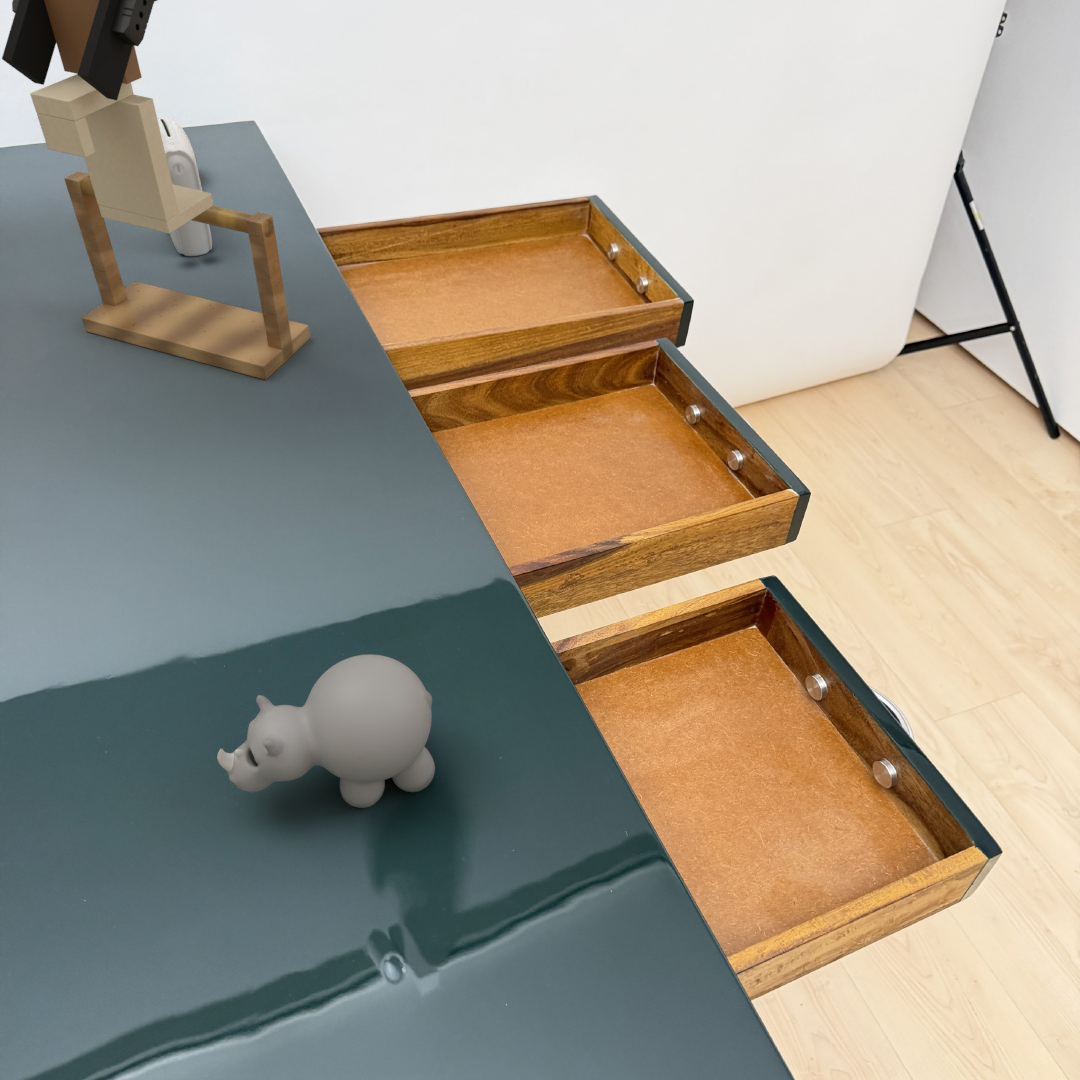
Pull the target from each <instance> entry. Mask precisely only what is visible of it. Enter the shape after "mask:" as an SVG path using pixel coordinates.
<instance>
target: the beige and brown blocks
mask: <svg viewBox="0 0 1080 1080" xmlns="http://www.w3.org/2000/svg"><path fill="white" fill-rule="evenodd" d="M44 2H45V5H46V9H47V12H48V16H49V19H50V22H51V26H52V29H53V33H54V36H55V40H56V46H57V50H58V55H59V57H60V61H61V63H62V67H63V70H64V72H66V73H71V74H74V75H72V76H69V77H66V78H64V79H62V80H59V81H57V82H54V83H52V84H49V85H47V86H44V87H42V88H40V89H37V90H35V91H32V92H30V93H29V94H30V97H31V101H32V103H33V107H34V110H35V113H36V116H37V120H38V122H39V125H40V129H41V132H42V135H43V138H44V141H45V144H46V146H47V149H48V150H50V151H55V152H59V153H62V154H68V155H72V156H75V157H81V158H83V159H84V162H85V165H86V169H87V173H88V174H89V176H90V179H91V183H92V186H93V190H94V193H95V196H96V200H97V203H98V204H99V205H98V206H99V209H100V213H101V216H102V217H103V218H104V219H107V220H112V221H114V222H115V221H116V222H120V223H124V224H128V225H132V226H135V227H139V228H144V229H149V230H152V231H157V232H160V233H164V234H168V235H170V233H171V232H173V231H175V230H176V229H178V228H179V227H181V226H182V225H184V224H185V223H187V222H189V221H190V220H192V219H193V218H195V217H196V216H198V215H199V214H201V213H203V212H204V211H206V210H207V209H209V208H210V207H212V206H215V204H214V200H213V194H212V192H208V191H204V190H202V191H199V190H195V189H191V188H186V187H182V186H178V185H173V184H172V181H171V176H170V172H169V168H168V163H167V159H166V155H165V150H164V146H163V142H162V137H161V133H160V129H159V124H158V120H157V118H158V115H157V111H156V107H155V103H154V99H153V98H152V97H148V96H142V95H137V94H135V93H134V89H133V85H132V83H133V82H135V81H138V80H140V79H142V72H141V69H140V65H139V64H140V63H139V60H138V56H137V55H138V54H137V52H136V46H134V45H133V48H132V51H131V55H130V58H129V61H128V65H127V68H126V72H125V75H124V78H123V82H122V85H121V88H120V92H119V95H118V99H117V100H113V99H108V98H106V97H105V96H104V95H102V94H101V93H100V92H99V91H97V90H96V89H95V88H94V87H92V86H91V85H90V84H88V83H87V82H86V81H85V80H83V79H82V78H81V77H80V76H78V75H77V74H78V71H79V68H80V64H81V61H82V57H83V54H84V51H85V47H86V44H87V40H88V37H89V34H90V30H91V27H92V23H93V20H94V17H95V13H96V10H97V6H98V3H99V0H44Z"/></svg>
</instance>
